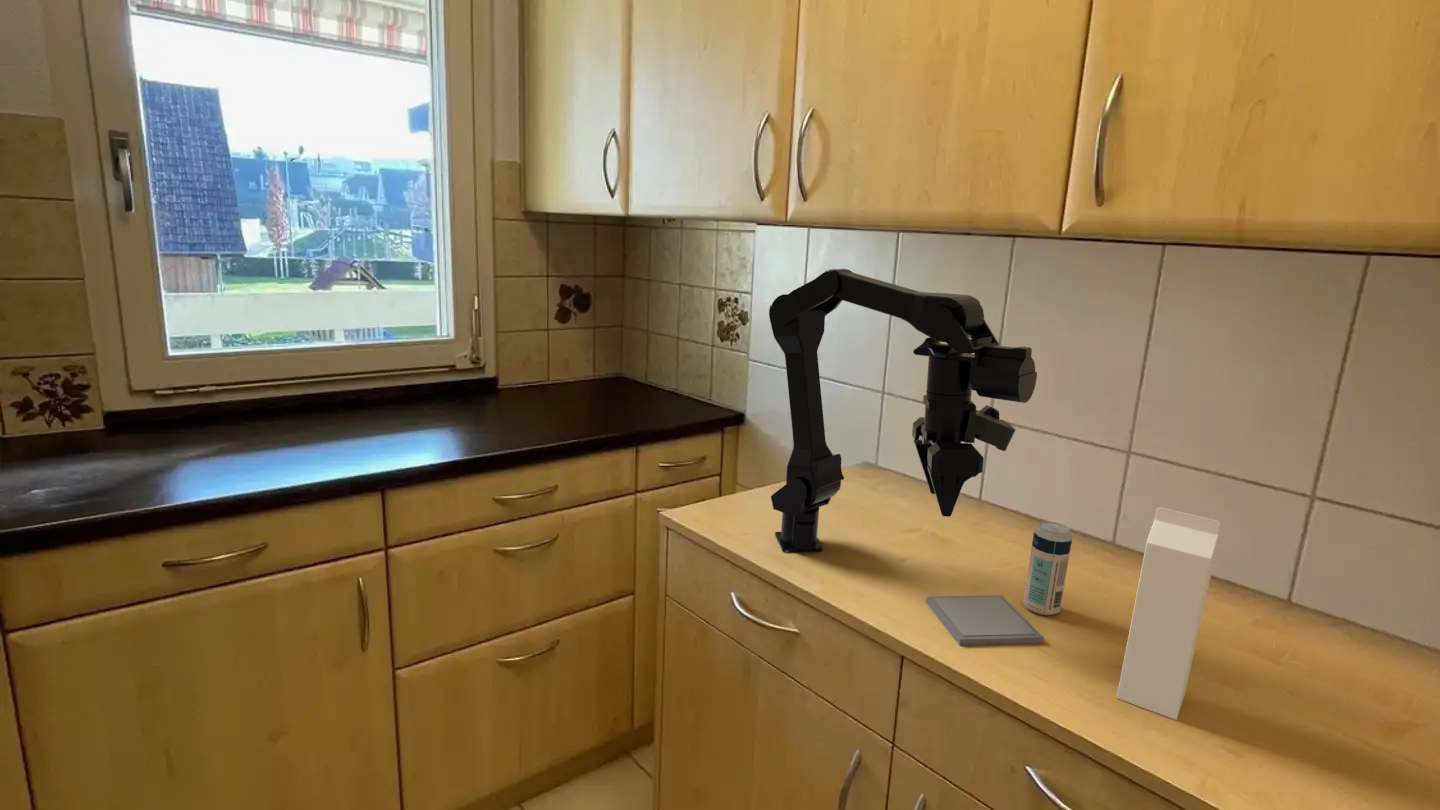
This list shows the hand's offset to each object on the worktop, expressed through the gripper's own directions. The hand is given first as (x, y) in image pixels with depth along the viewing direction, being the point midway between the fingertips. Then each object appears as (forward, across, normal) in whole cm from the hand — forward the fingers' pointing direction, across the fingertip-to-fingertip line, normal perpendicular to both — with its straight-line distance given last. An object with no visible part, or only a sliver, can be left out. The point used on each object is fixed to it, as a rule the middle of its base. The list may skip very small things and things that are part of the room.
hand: (940, 504), depth 105 cm
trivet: (+14, -6, -5) cm, 16 cm away
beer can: (+14, -1, -14) cm, 20 cm away
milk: (+15, -20, -21) cm, 32 cm away
